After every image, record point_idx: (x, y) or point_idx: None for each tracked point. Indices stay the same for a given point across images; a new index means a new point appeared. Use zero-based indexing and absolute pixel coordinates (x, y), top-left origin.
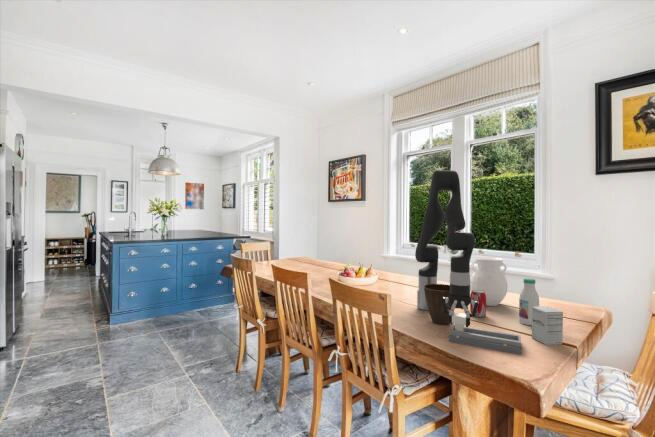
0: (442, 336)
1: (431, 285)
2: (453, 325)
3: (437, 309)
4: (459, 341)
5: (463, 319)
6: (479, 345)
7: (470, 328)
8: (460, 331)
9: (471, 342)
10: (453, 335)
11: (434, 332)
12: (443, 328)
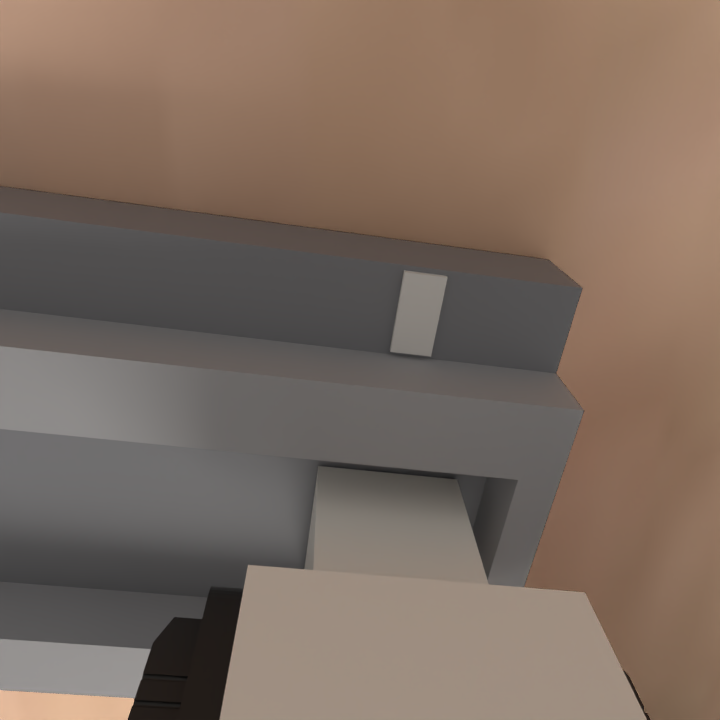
0: (622, 436)
1: None
2: None
3: None
4: (380, 243)
5: (291, 714)
6: (29, 198)
7: None
8: (367, 455)
9: (164, 223)
10: (491, 362)
11: (713, 541)
12: None
